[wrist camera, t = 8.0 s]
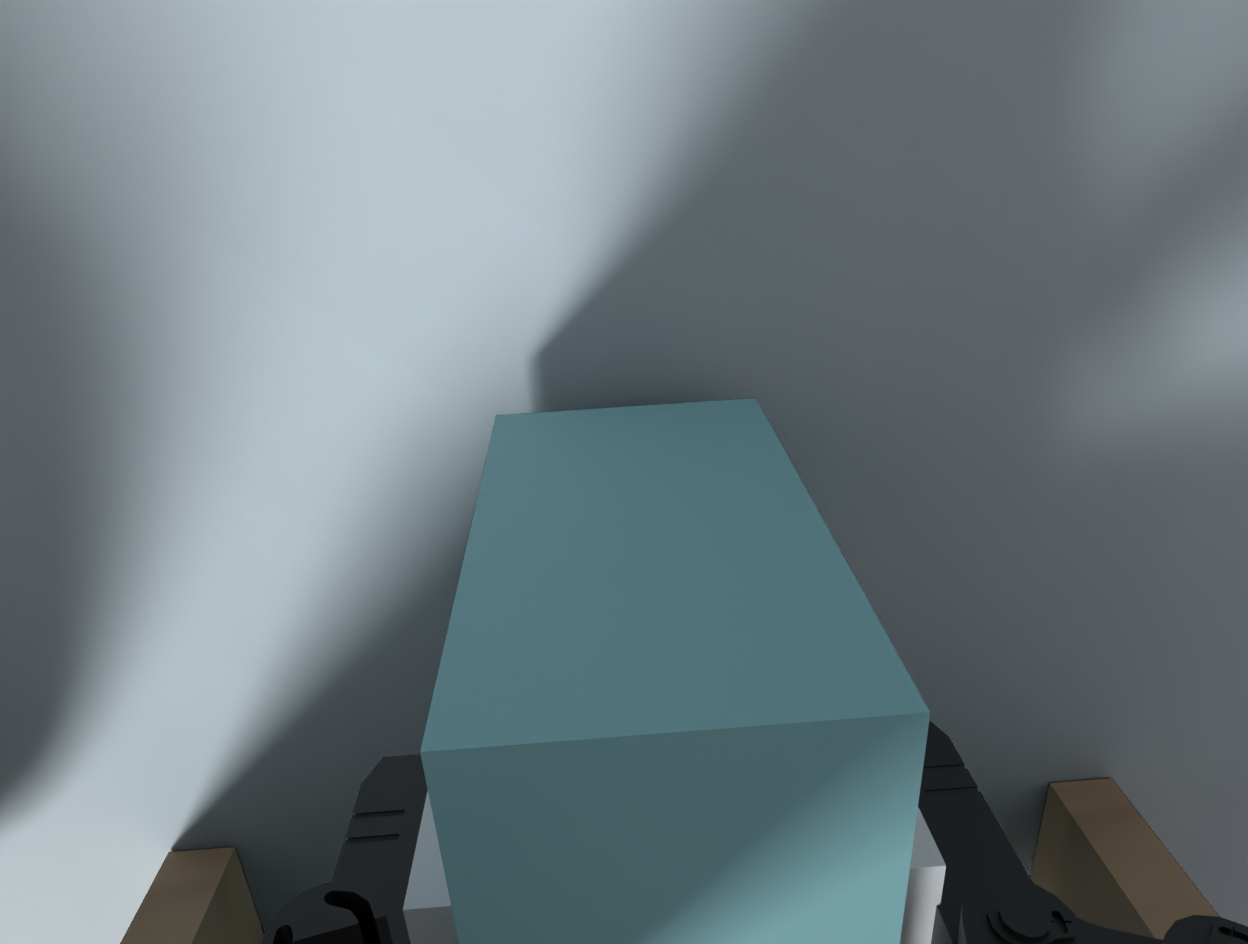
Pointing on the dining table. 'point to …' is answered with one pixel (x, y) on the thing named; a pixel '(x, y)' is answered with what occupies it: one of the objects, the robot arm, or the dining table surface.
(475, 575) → the teal batten
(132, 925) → the walnut shelf
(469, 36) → the dining table surface
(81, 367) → the dining table surface
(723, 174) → the dining table surface
